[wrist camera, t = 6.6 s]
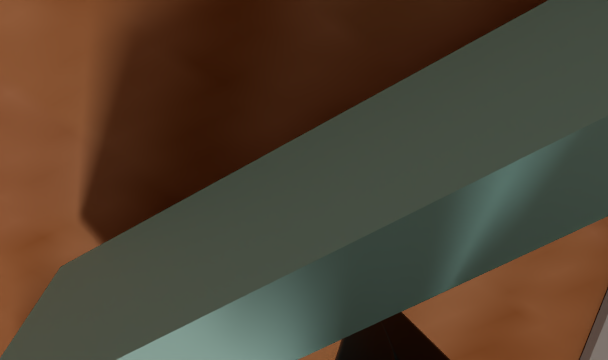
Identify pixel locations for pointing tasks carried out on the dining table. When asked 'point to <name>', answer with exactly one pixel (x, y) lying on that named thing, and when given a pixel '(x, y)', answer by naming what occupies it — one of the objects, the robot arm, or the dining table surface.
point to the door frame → (598, 336)
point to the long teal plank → (357, 210)
